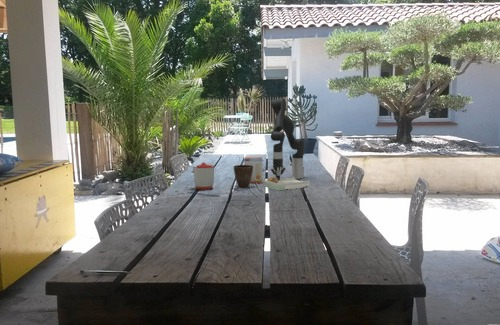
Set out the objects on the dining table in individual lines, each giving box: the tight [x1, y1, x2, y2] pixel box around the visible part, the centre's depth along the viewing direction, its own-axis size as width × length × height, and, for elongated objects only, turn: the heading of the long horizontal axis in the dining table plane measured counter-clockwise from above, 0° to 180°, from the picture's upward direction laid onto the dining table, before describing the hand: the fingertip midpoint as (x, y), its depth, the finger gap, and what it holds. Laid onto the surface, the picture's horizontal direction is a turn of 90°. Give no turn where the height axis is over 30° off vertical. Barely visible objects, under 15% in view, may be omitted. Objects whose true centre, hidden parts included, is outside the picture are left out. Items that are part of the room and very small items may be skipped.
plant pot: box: [233, 164, 253, 189], centre depth 366 cm, size 15×15×16 cm
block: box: [266, 176, 278, 183], centre depth 367 cm, size 6×5×4 cm
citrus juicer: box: [191, 161, 215, 191], centre depth 361 cm, size 16×17×20 cm
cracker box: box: [243, 156, 263, 184], centre depth 387 cm, size 14×6×21 cm, turn 84°
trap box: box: [263, 177, 311, 191], centre depth 368 cm, size 28×20×4 cm
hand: (277, 180), depth 369 cm, fingers closed
